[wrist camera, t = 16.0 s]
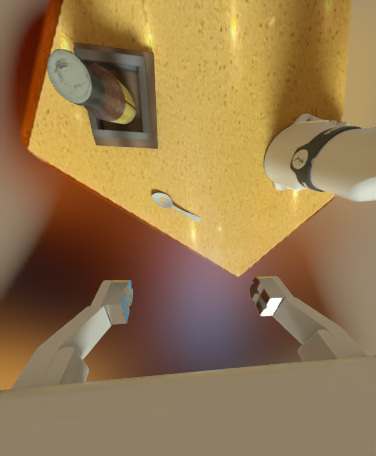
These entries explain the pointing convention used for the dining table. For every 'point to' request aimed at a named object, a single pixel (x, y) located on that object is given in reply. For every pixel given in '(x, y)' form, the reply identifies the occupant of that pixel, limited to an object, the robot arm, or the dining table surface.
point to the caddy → (136, 84)
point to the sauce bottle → (90, 87)
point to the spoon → (171, 205)
